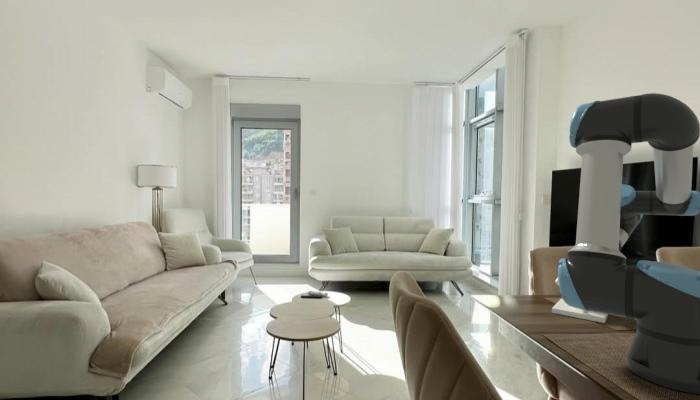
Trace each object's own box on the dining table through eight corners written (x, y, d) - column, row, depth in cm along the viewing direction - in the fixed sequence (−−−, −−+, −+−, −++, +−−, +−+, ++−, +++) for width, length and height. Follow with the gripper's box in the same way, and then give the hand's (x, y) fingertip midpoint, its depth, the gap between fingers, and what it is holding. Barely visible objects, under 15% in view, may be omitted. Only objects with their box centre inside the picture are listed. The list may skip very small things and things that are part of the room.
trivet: (604, 323, 104) (604, 318, 104) (551, 312, 114) (551, 308, 114) (609, 311, 116) (609, 306, 116) (561, 302, 125) (561, 298, 125)
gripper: (656, 255, 107) (622, 308, 103) (580, 244, 131) (549, 287, 126) (645, 238, 106) (609, 291, 101) (570, 230, 129) (538, 273, 125)
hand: (576, 289), depth 114 cm, fingers open, 13 cm apart
